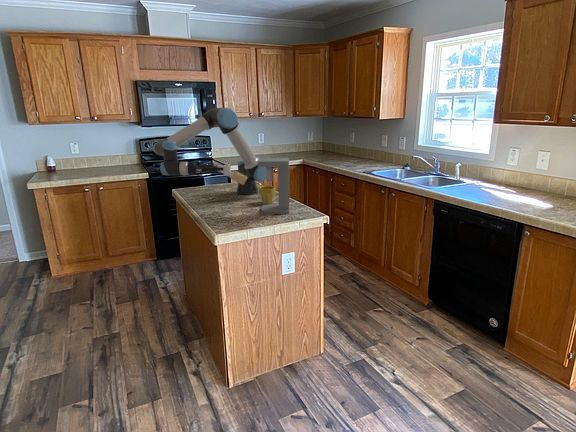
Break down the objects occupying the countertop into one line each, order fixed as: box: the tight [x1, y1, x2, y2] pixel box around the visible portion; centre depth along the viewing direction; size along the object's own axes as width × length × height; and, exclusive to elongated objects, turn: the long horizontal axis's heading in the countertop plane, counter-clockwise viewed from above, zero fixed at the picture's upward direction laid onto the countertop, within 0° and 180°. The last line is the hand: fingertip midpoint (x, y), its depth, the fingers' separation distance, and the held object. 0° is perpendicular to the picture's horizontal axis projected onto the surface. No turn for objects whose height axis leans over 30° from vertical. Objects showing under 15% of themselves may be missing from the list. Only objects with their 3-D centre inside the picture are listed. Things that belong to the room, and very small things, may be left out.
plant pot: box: [258, 185, 276, 205], centre depth 237 cm, size 10×10×10 cm
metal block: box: [212, 161, 248, 185], centre depth 214 cm, size 6×20×4 cm
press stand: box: [258, 157, 290, 215], centre depth 216 cm, size 12×17×30 cm
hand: (229, 168), depth 213 cm, fingers closed on metal block, 3 cm apart
